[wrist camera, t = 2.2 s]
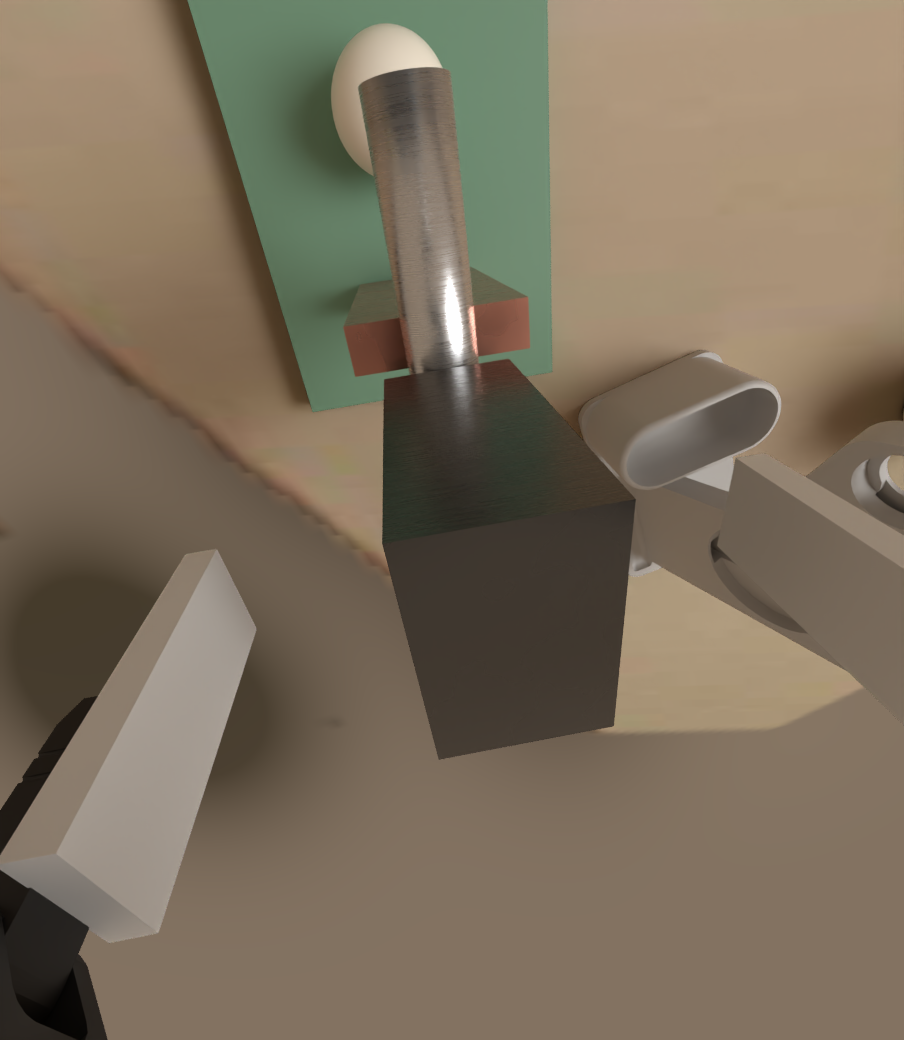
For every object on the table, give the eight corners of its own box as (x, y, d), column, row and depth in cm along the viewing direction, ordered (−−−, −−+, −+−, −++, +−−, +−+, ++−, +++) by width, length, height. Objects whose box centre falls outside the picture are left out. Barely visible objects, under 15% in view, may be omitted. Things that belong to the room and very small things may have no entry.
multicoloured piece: (332, 155, 22) (40, -214, 3) (458, 135, 22) (840, -311, 4) (388, 418, 29) (394, 768, 10) (484, 402, 29) (656, 718, 11)
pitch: (-1, -659, 13) (-209, -1133, 9) (522, -711, 14) (592, -1184, 9) (315, 404, 30) (303, 437, 25) (545, 366, 31) (573, 391, 26)
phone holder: (572, 402, 32) (737, 561, 17) (717, 335, 31) (1034, 444, 16) (624, 576, 41) (762, 779, 26) (737, 530, 40) (951, 716, 25)
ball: (354, 19, 20) (346, -34, 16) (460, 83, 22) (479, 49, 17) (324, 155, 22) (310, 140, 18) (422, 204, 24) (430, 200, 20)
